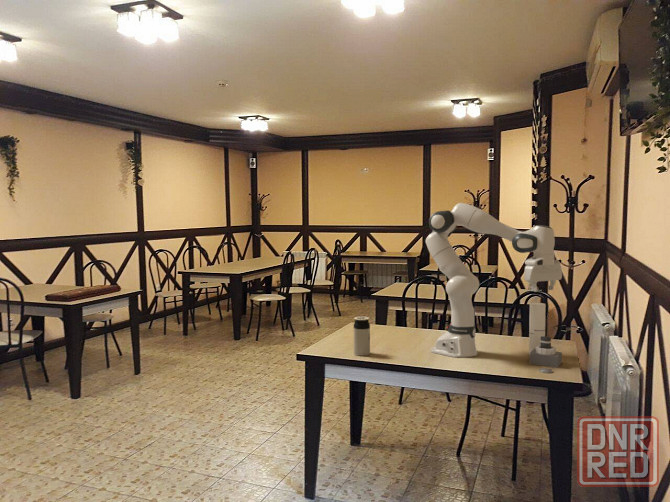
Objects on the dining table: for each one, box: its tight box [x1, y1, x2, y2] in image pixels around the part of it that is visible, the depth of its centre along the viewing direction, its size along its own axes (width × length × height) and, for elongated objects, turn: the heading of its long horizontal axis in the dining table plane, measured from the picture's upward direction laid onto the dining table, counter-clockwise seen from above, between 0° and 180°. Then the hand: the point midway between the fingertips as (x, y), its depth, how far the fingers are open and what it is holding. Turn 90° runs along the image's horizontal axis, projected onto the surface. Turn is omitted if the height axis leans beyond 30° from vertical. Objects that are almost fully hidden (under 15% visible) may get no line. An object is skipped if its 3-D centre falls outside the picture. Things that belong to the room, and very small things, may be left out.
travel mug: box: [353, 316, 371, 357], centre depth 252 cm, size 8×8×18 cm
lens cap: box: [539, 367, 553, 374], centre depth 221 cm, size 5×5×1 cm
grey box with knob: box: [529, 345, 563, 369], centre depth 233 cm, size 12×9×8 cm
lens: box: [540, 335, 552, 349], centre depth 233 cm, size 4×4×7 cm
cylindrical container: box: [528, 302, 547, 356], centre depth 247 cm, size 7×7×25 cm
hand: (543, 290), depth 234 cm, fingers open, 8 cm apart
